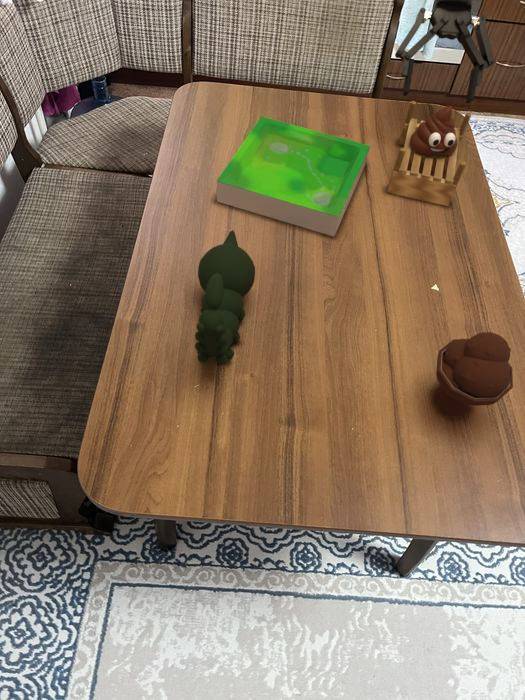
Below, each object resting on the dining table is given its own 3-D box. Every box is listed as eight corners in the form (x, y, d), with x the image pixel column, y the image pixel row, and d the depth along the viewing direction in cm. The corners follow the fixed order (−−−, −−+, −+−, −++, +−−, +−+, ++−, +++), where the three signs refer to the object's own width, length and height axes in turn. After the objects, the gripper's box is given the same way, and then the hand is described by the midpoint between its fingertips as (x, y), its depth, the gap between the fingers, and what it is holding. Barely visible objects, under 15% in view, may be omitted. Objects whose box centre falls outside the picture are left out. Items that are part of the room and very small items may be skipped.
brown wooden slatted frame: (455, 153, 123) (471, 112, 115) (448, 206, 112) (466, 165, 104) (398, 140, 125) (411, 99, 117) (386, 192, 113) (399, 151, 105)
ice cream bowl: (410, 374, 87) (441, 316, 74) (475, 372, 88) (516, 314, 75) (426, 433, 80) (462, 380, 68) (496, 430, 82) (545, 378, 69)
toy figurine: (242, 386, 85) (257, 264, 98) (244, 321, 69) (263, 185, 81) (183, 379, 85) (207, 259, 98) (172, 313, 69) (202, 178, 81)
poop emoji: (449, 136, 116) (465, 95, 109) (459, 160, 111) (477, 119, 104) (404, 135, 115) (417, 94, 108) (413, 160, 111) (427, 118, 103)
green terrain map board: (216, 201, 108) (216, 180, 104) (260, 136, 122) (261, 116, 118) (334, 236, 104) (338, 216, 100) (364, 165, 118) (370, 145, 114)
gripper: (508, 4, 113) (489, 109, 117) (391, -10, 113) (376, 96, 117) (524, -14, 106) (503, 99, 109) (399, -29, 106) (382, 84, 109)
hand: (437, 97), depth 113 cm, fingers open, 13 cm apart
